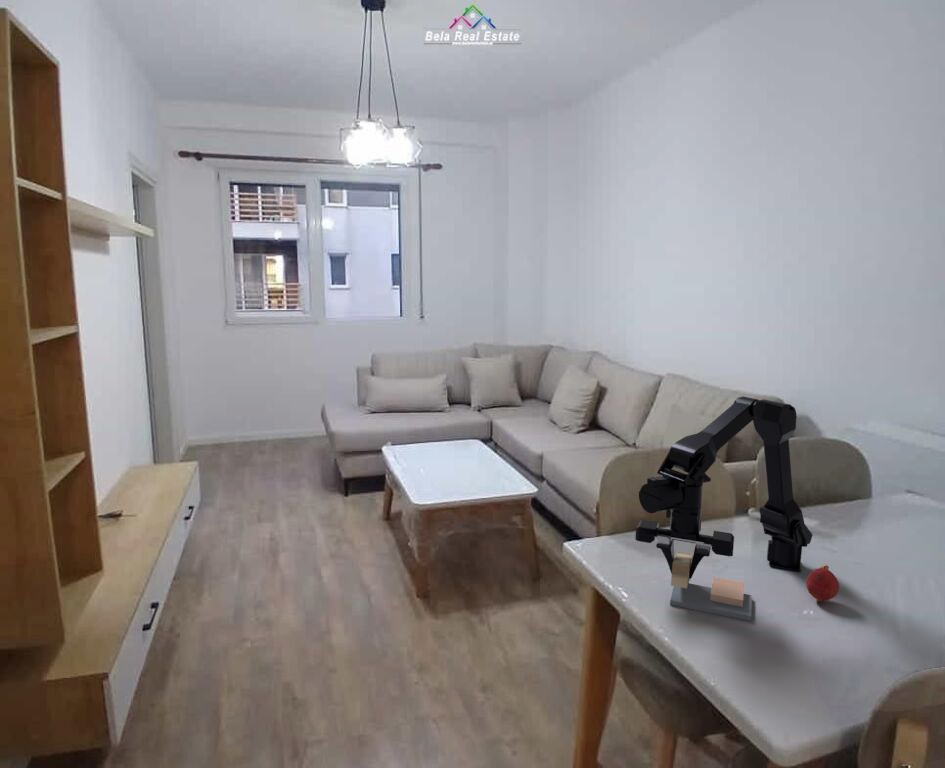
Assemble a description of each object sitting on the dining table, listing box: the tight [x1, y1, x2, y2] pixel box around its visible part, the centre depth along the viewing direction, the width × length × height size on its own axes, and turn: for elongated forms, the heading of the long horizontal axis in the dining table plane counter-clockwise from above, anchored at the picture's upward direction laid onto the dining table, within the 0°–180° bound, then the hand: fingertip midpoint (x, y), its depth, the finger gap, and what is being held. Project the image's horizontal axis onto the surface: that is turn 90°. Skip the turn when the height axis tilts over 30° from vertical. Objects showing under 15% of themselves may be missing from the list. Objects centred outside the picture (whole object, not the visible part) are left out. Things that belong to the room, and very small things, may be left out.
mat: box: [669, 583, 753, 622], centre depth 128 cm, size 15×9×1 cm, turn 66°
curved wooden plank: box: [670, 551, 694, 589], centre depth 130 cm, size 12×3×4 cm, turn 156°
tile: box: [710, 576, 745, 607], centre depth 128 cm, size 6×2×8 cm
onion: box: [805, 564, 840, 603], centre depth 128 cm, size 6×6×8 cm
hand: (681, 576), depth 129 cm, fingers closed on curved wooden plank, 3 cm apart
